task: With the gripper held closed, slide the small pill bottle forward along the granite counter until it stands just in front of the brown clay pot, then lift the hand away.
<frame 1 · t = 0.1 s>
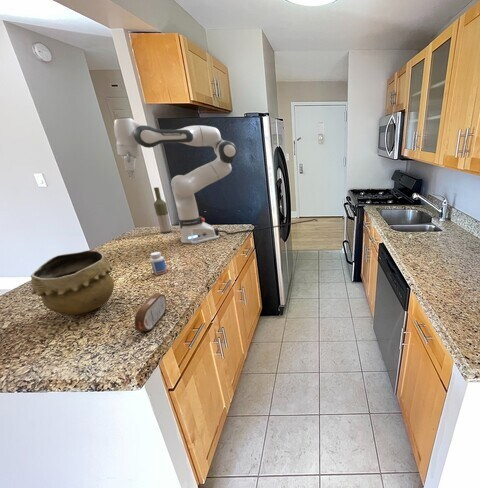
hand: (132, 179, 137), 39 cm above the countertop, tool pointing down, fingers open, 8 cm apart
bottle: (166, 232, 177), on the countertop
pill bottle: (160, 272, 122), on the countertop
clay pot: (88, 309, 95), on the countertop
brown oval clock: (155, 322, 89), on the countertop
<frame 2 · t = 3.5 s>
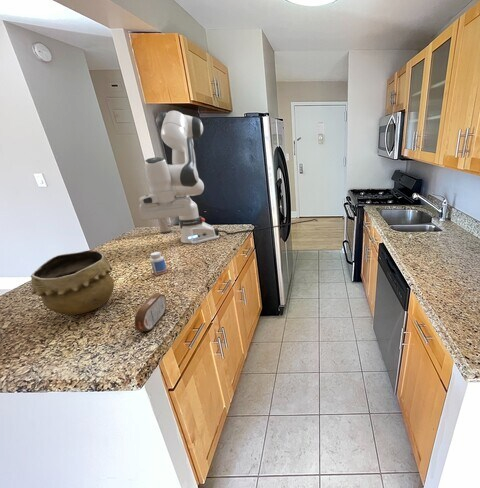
hand: (170, 226, 119), 21 cm above the countertop, tool pointing down, fingers closed
nothing on the countertop moved.
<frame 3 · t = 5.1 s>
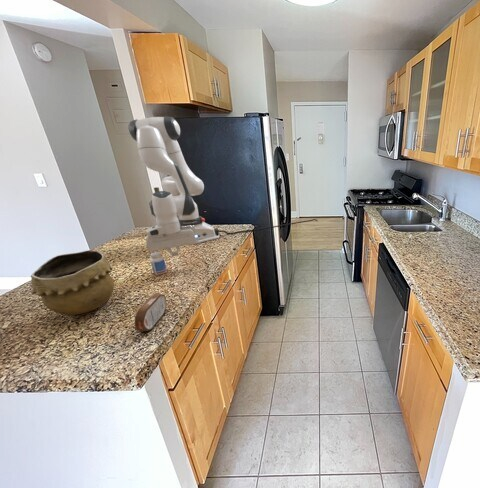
hand: (175, 255, 123), 7 cm above the countertop, tool pointing down, fingers closed
nothing on the countertop moved.
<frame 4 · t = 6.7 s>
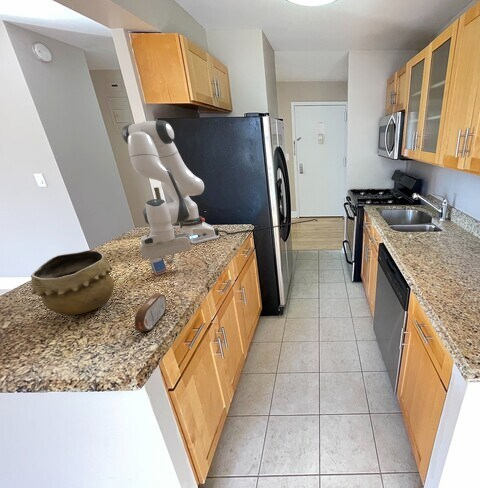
hand: (170, 263, 123), 4 cm above the countertop, tool pointing down, fingers closed
pill bottle: (160, 272, 122), on the countertop, touching gripper
everything else where it was.
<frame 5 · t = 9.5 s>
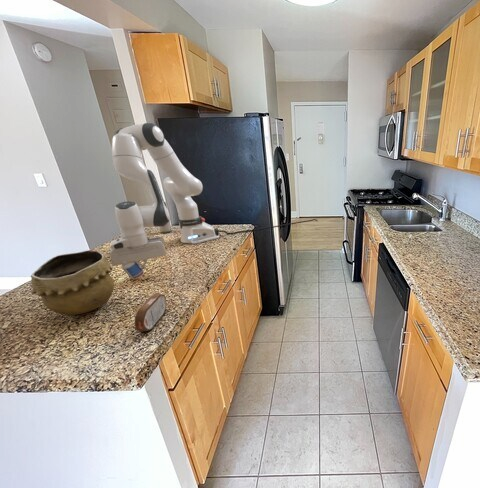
hand: (143, 268, 117), 4 cm above the countertop, tool pointing down, fingers closed
pill bottle: (138, 276, 117), point 1 cm above the countertop, touching gripper
everything else where it was.
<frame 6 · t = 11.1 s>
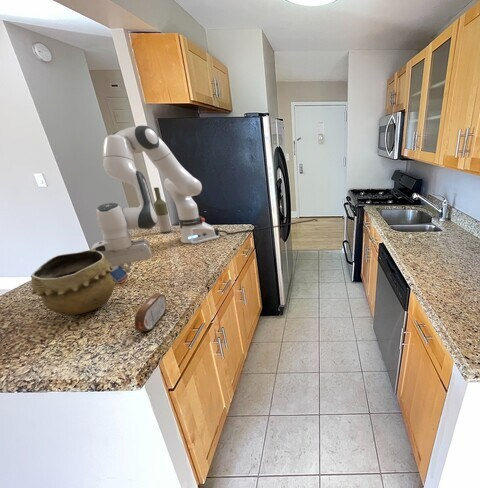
hand: (127, 271, 114), 4 cm above the countertop, tool pointing down, fingers closed
pill bottle: (122, 279, 114), point 1 cm above the countertop, touching gripper
everything else where it was.
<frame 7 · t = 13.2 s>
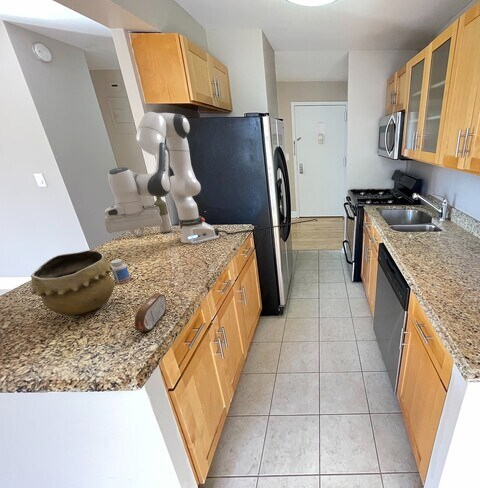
hand: (139, 237, 116), 17 cm above the countertop, tool pointing down, fingers closed
pill bottle: (123, 281, 115), on the countertop
everything else where it was.
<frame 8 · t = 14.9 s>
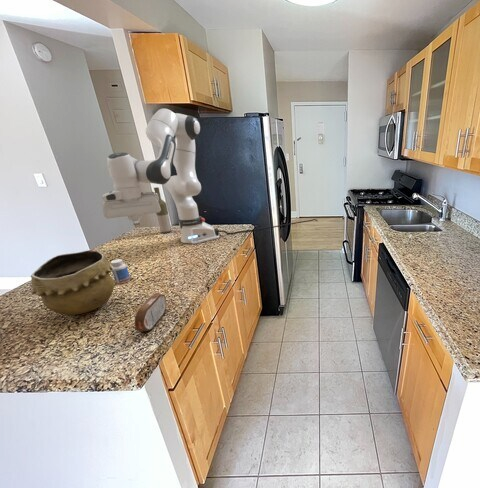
hand: (137, 224, 115), 23 cm above the countertop, tool pointing down, fingers closed
nothing on the countertop moved.
at the end: pill bottle inside the target area (1.8 cm from its centre), on the countertop; pill bottle tilted 0°; clay pot moved 0.2 cm from its start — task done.
